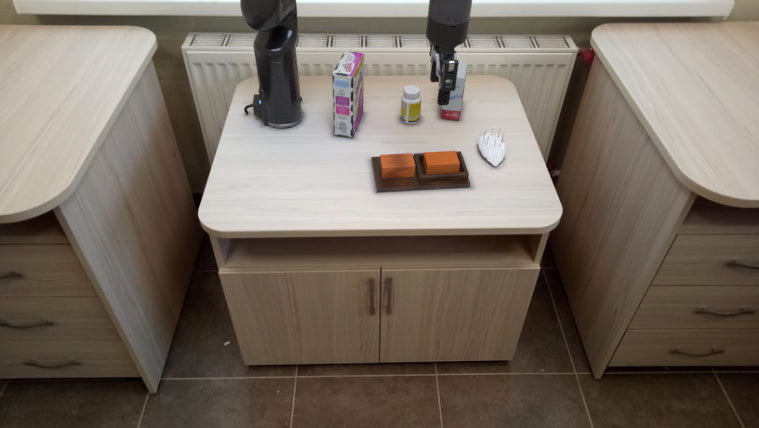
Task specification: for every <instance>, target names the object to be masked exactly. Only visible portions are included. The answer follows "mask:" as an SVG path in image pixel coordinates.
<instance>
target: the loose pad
mask: <svg viewBox="0 0 759 428" xmlns="http://www.w3.org/2000/svg"><path fill="white" fill-rule="evenodd" d="M423 153H424V157H423V165H424V169H425V173H426V174H440V173H459V166H460V162H459V159H458V157H457V154H456V150H445V151H443V150H442V151H424V152H423Z"/></svg>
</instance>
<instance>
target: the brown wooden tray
mask: <svg viewBox="0 0 759 428" xmlns="http://www.w3.org/2000/svg"><path fill="white" fill-rule="evenodd" d="M455 151H456V150H455ZM456 154H457V157H458V159H459V162H460V166H459V173H440V174H426V173H425V169H424V165H423V157H424V152H418V153H417V152H416V153H413V152H410V153H390V154H389V153H388V154H379V156H371V165H372V172H373V178H374V184H375V193H379V194H380V193H396V192H413V191H430V190H432V191H433V190H448V189H449V190H450V189H467V188H471V181H470V178H469V176H470V175H469V174H470V173H469V170H468V168H467V164H466V162H465V159H464V156H463V154H462V151H461V150H458V151H456Z"/></svg>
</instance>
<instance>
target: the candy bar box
mask: <svg viewBox="0 0 759 428" xmlns="http://www.w3.org/2000/svg"><path fill="white" fill-rule="evenodd" d="M364 76H365V53H362V52H357V51H348V50H344V51H343V53H342V55H341V56H340V59H339V61H338V62H337V64H336V65H335V67H334V69H333V71H332V73H331V77H332V78H331V79H332V112H333V113H332V115H333V136H338V137H344V138H351V139H352V138H354V136H355V133H356V131H357V128H358V126H359V124H360V121H361V119H362V117H363V114H364V84H365V83H364V80H365V79H364V78H365V77H364Z"/></svg>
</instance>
